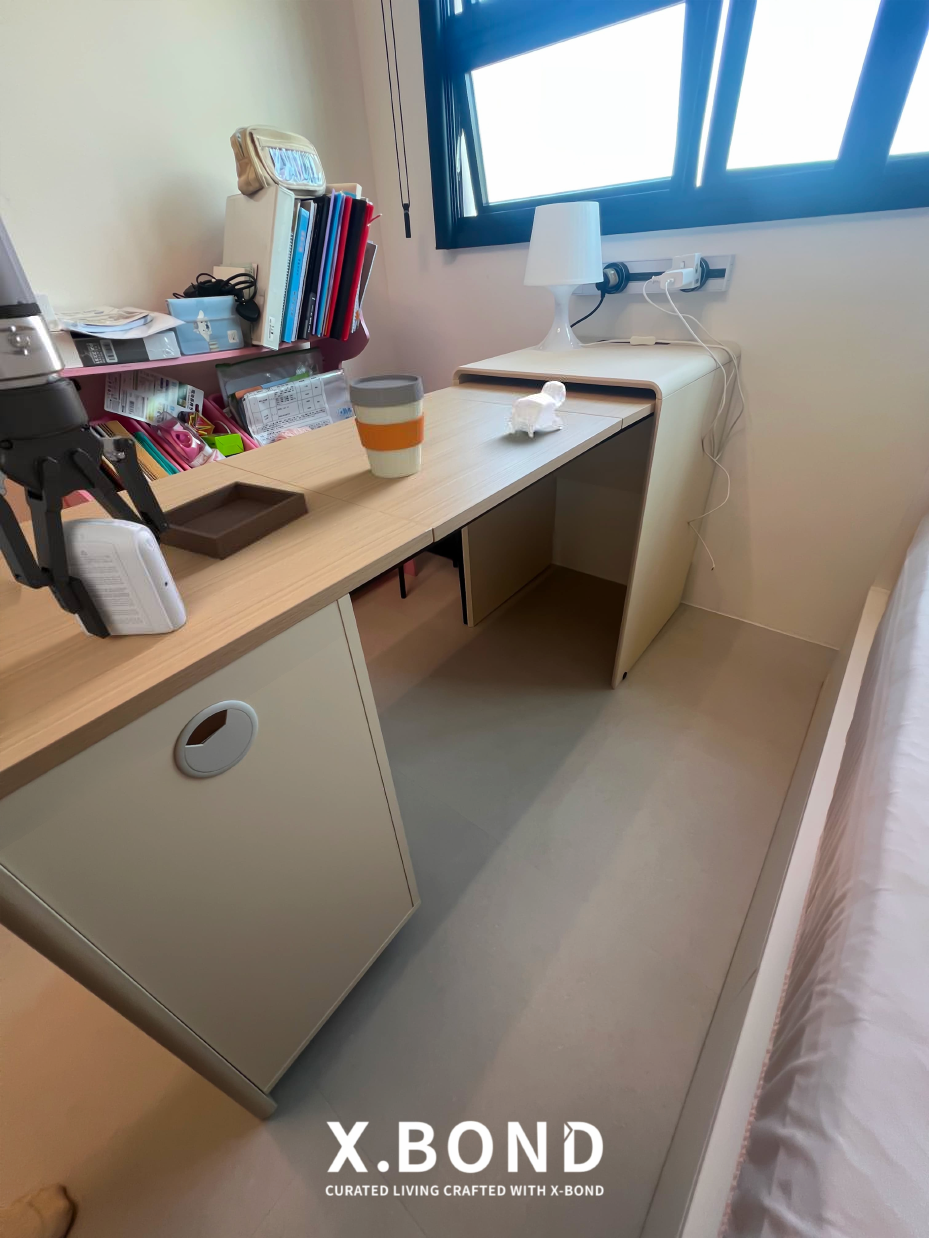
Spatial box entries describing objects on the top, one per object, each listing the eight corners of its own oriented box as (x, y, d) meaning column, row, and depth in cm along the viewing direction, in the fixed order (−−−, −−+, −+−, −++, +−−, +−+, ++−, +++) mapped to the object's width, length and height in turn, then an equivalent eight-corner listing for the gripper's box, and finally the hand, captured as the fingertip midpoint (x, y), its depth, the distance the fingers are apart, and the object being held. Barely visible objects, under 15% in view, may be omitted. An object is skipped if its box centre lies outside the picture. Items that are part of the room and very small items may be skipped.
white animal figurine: (540, 451, 107) (579, 410, 112) (532, 415, 101) (574, 374, 106) (509, 444, 112) (547, 405, 117) (500, 410, 106) (541, 370, 111)
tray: (222, 560, 66) (214, 538, 65) (151, 540, 72) (143, 520, 70) (308, 512, 78) (304, 493, 76) (242, 499, 84) (236, 480, 82)
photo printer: (194, 612, 56) (150, 508, 49) (177, 635, 53) (127, 527, 46) (103, 616, 56) (45, 513, 49) (80, 640, 53) (14, 532, 46)
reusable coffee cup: (409, 454, 100) (400, 371, 91) (443, 470, 91) (436, 380, 83) (350, 468, 94) (335, 381, 86) (380, 486, 86) (367, 392, 77)
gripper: (-123, 410, 32) (56, 681, 45) (153, 363, 46) (229, 581, 59) (-168, 402, 35) (13, 658, 48) (104, 360, 49) (186, 568, 62)
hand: (131, 615), depth 54 cm, fingers open, 6 cm apart
